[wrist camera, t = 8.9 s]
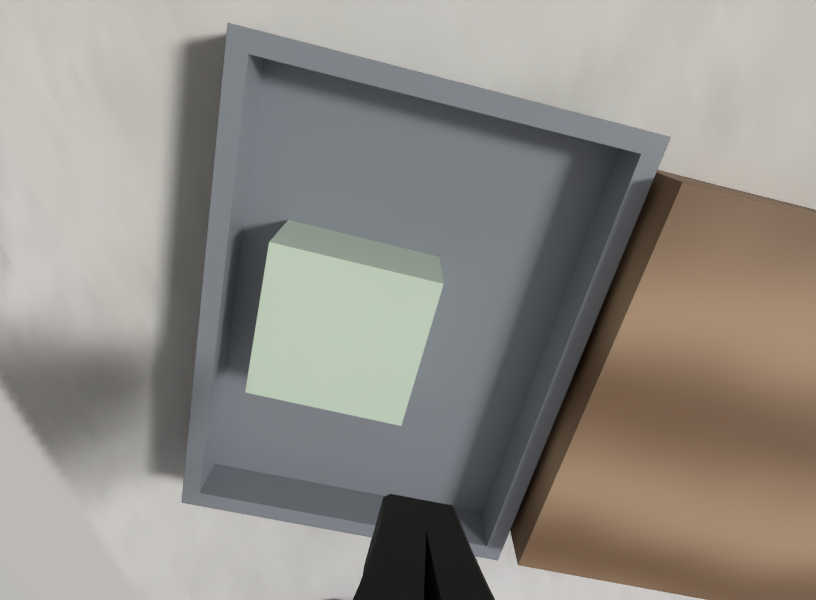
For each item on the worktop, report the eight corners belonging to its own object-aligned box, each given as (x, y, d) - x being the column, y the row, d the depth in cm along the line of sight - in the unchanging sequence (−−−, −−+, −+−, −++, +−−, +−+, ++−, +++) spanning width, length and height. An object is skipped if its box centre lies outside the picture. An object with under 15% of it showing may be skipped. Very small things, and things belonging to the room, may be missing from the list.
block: (402, 384, 19) (401, 426, 17) (265, 354, 19) (245, 392, 17) (439, 256, 18) (443, 284, 15) (288, 219, 17) (269, 242, 15)
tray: (490, 520, 22) (497, 560, 20) (201, 465, 21) (181, 502, 20) (641, 130, 16) (670, 137, 15) (249, 29, 15) (227, 22, 14)
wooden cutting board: (815, 563, 23) (869, 629, 20) (504, 503, 22) (518, 565, 19) (1030, 264, 18) (1143, 298, 15) (637, 165, 17) (682, 182, 14)
